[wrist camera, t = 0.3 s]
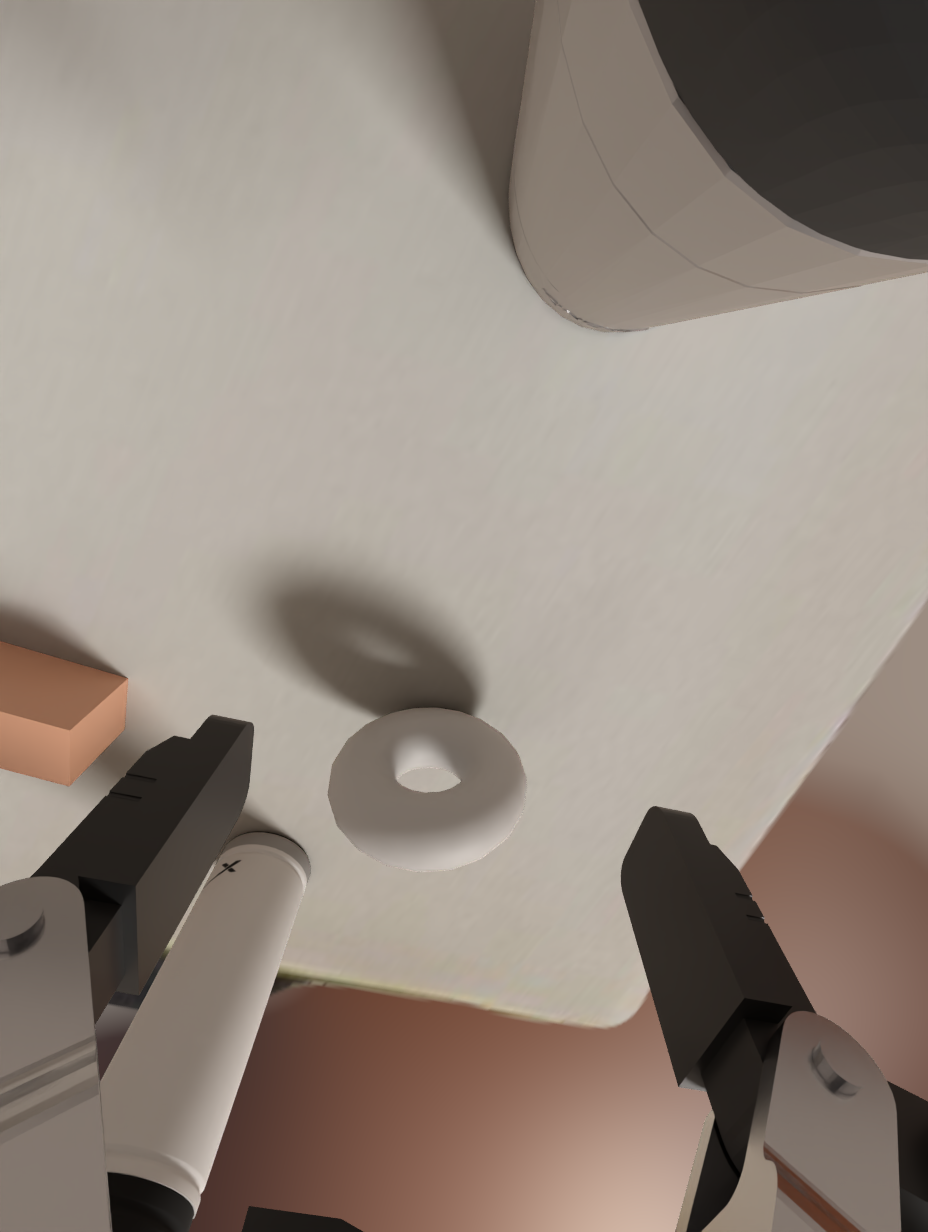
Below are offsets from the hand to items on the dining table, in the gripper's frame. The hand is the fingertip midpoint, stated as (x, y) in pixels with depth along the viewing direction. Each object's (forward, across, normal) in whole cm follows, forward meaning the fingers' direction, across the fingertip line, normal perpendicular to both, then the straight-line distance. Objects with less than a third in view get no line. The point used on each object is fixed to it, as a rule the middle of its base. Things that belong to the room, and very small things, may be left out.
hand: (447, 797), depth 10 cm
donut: (+18, -1, +11) cm, 21 cm away
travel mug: (+19, +8, +26) cm, 33 cm away
